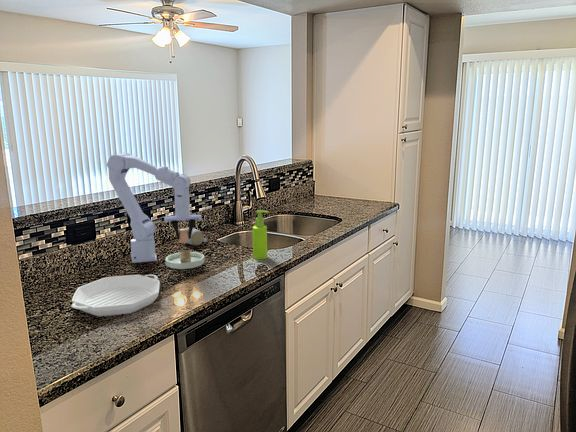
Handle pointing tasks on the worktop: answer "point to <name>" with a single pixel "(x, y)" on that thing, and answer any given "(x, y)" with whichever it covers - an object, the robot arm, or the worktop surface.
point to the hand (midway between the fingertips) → (184, 238)
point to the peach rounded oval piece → (183, 235)
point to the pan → (116, 295)
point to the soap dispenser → (260, 237)
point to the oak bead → (185, 256)
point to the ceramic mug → (196, 237)
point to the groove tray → (175, 263)
